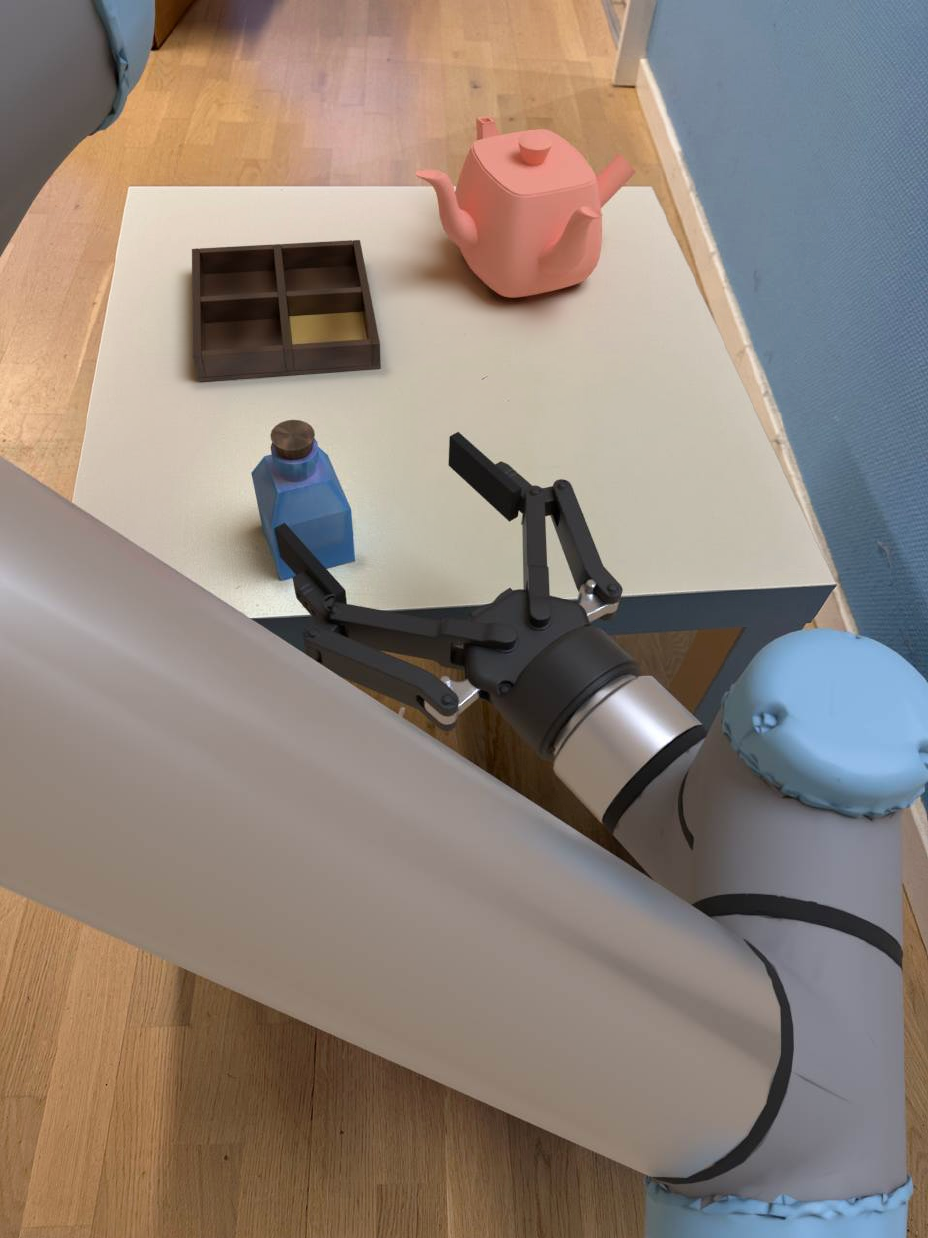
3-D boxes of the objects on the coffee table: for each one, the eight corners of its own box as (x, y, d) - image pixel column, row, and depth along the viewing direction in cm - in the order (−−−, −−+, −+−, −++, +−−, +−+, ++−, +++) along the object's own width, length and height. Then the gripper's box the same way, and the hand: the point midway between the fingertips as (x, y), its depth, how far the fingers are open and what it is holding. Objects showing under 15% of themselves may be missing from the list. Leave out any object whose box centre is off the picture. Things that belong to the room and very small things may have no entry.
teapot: (578, 336, 92) (602, 208, 81) (412, 291, 95) (413, 161, 84) (622, 244, 102) (649, 119, 91) (471, 206, 105) (478, 80, 94)
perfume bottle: (355, 560, 73) (346, 453, 63) (281, 580, 72) (260, 474, 62) (333, 507, 76) (322, 398, 67) (261, 525, 75) (239, 416, 65)
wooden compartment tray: (198, 382, 85) (192, 356, 82) (197, 274, 95) (191, 248, 92) (380, 368, 87) (380, 343, 85) (361, 264, 97) (360, 239, 95)
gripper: (415, 880, 47) (212, 619, 56) (727, 643, 57) (511, 454, 66) (415, 824, 41) (187, 542, 50) (764, 569, 51) (521, 372, 60)
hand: (371, 491), depth 58 cm, fingers open, 13 cm apart
